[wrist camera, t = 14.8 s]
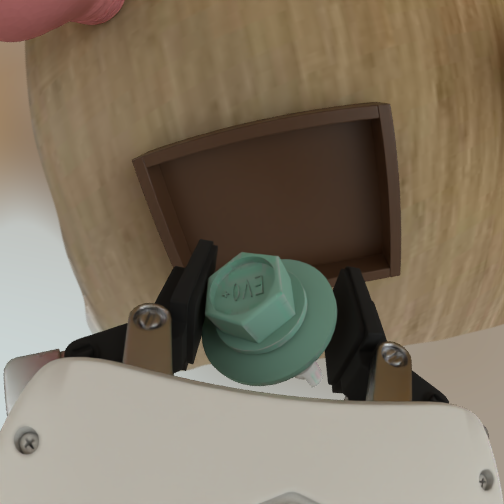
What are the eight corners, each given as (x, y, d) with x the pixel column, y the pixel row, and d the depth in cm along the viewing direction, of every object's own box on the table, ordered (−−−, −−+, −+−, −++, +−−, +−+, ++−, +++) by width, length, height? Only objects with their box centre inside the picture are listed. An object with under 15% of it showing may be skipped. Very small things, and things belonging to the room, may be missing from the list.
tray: (376, 101, 16) (390, 103, 14) (390, 256, 21) (400, 275, 19) (147, 151, 19) (131, 160, 17) (198, 287, 24) (190, 307, 22)
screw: (182, 251, 11) (163, 371, 8) (307, 207, 10) (339, 336, 7) (267, 349, 17) (271, 428, 14) (348, 328, 16) (365, 409, 12)
